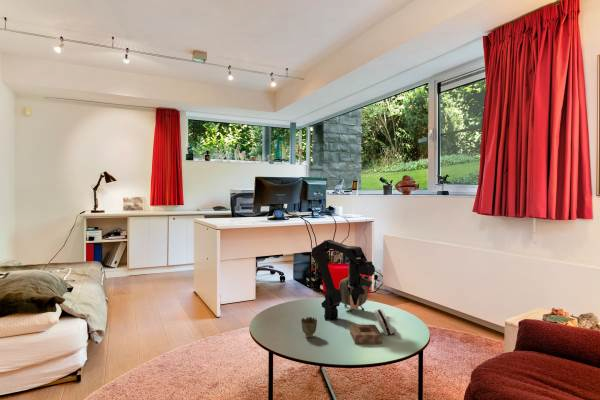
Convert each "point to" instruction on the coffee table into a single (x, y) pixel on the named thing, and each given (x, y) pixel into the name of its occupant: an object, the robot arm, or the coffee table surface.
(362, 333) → the hole block
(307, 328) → the cup
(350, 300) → the peg
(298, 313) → the coffee table surface
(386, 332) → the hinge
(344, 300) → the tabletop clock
